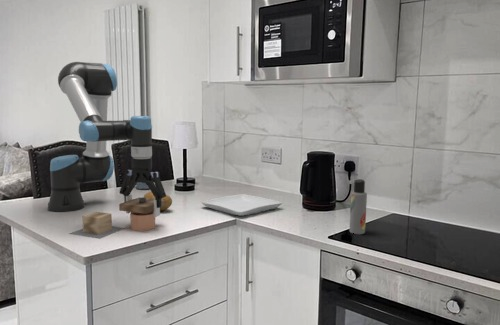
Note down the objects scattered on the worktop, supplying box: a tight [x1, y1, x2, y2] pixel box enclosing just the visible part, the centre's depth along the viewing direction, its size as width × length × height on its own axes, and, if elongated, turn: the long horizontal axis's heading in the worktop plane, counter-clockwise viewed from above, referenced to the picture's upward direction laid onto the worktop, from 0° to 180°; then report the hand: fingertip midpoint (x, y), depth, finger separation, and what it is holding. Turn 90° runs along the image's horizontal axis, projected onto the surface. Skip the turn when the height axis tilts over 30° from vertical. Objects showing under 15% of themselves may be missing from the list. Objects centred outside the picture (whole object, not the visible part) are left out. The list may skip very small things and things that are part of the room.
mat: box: [68, 225, 126, 240], centre depth 156 cm, size 14×14×1 cm
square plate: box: [200, 193, 283, 217], centre depth 194 cm, size 27×27×4 cm
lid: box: [118, 196, 165, 214], centre depth 160 cm, size 12×12×4 cm
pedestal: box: [82, 211, 113, 235], centre depth 155 cm, size 7×7×6 cm
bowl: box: [129, 211, 157, 231], centre depth 161 cm, size 9×9×6 cm
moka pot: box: [135, 156, 153, 190], centre depth 235 cm, size 10×15×20 cm, turn 40°
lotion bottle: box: [349, 178, 368, 235], centre depth 158 cm, size 6×6×20 cm
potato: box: [143, 191, 173, 212], centre depth 187 cm, size 10×14×8 cm
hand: (142, 214), depth 161 cm, fingers closed on lid, 12 cm apart
